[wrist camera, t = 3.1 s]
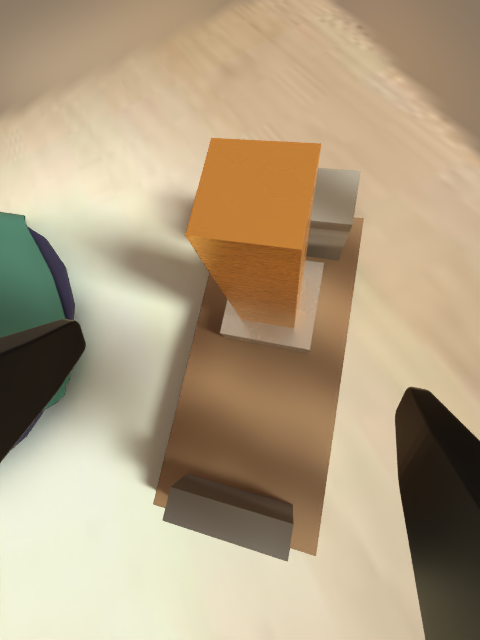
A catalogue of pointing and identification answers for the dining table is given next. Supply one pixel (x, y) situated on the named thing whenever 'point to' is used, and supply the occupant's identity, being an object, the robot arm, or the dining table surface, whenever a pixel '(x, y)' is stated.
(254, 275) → the orange wooden beam
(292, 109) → the dining table surface
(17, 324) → the cutlery set
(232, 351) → the brown piece
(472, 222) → the dining table surface
